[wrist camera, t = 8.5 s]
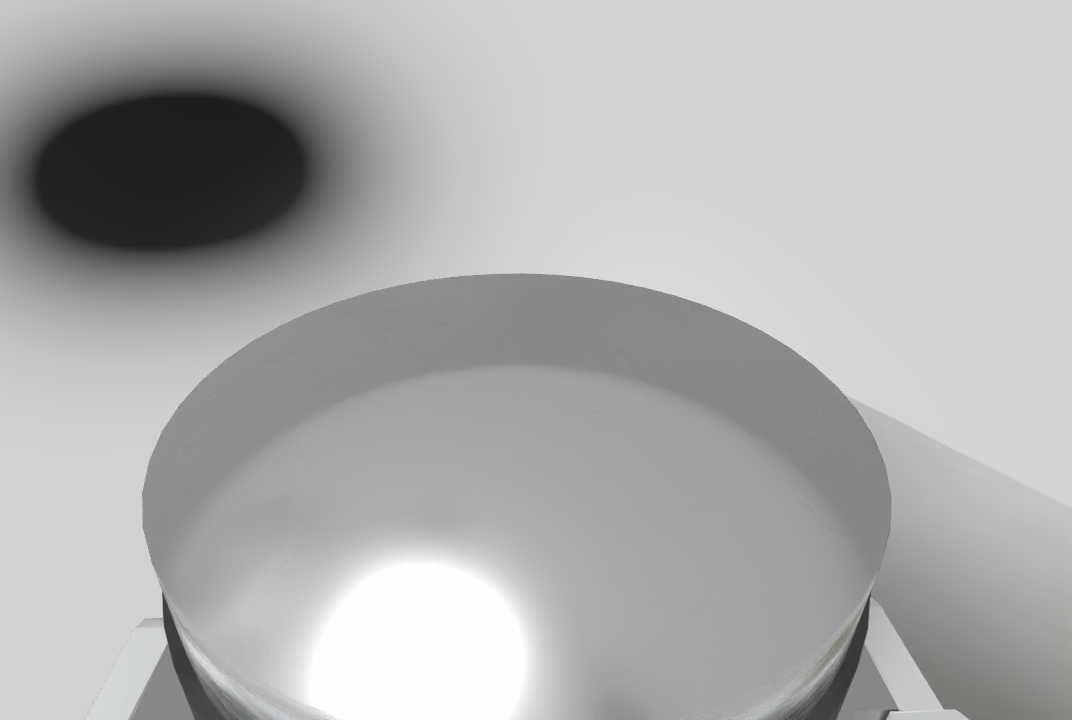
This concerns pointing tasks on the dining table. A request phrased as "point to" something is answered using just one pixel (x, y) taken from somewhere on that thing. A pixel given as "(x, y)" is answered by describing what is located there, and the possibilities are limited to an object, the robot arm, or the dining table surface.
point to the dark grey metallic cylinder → (516, 514)
